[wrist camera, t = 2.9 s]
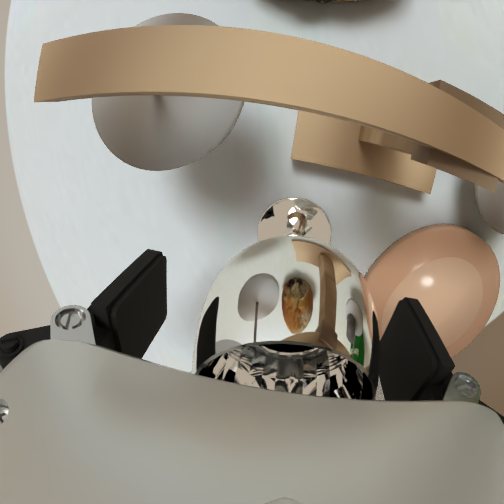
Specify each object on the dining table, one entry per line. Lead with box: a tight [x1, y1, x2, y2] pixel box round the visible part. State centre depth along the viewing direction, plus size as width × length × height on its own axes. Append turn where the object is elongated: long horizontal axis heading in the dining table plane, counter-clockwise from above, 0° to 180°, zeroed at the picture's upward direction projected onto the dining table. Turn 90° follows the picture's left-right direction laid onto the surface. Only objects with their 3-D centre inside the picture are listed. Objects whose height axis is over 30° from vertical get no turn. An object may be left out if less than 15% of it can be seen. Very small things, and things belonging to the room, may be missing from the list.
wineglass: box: [192, 197, 380, 400], centre depth 12 cm, size 6×6×12 cm
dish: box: [364, 224, 500, 358], centre depth 17 cm, size 12×12×1 cm
